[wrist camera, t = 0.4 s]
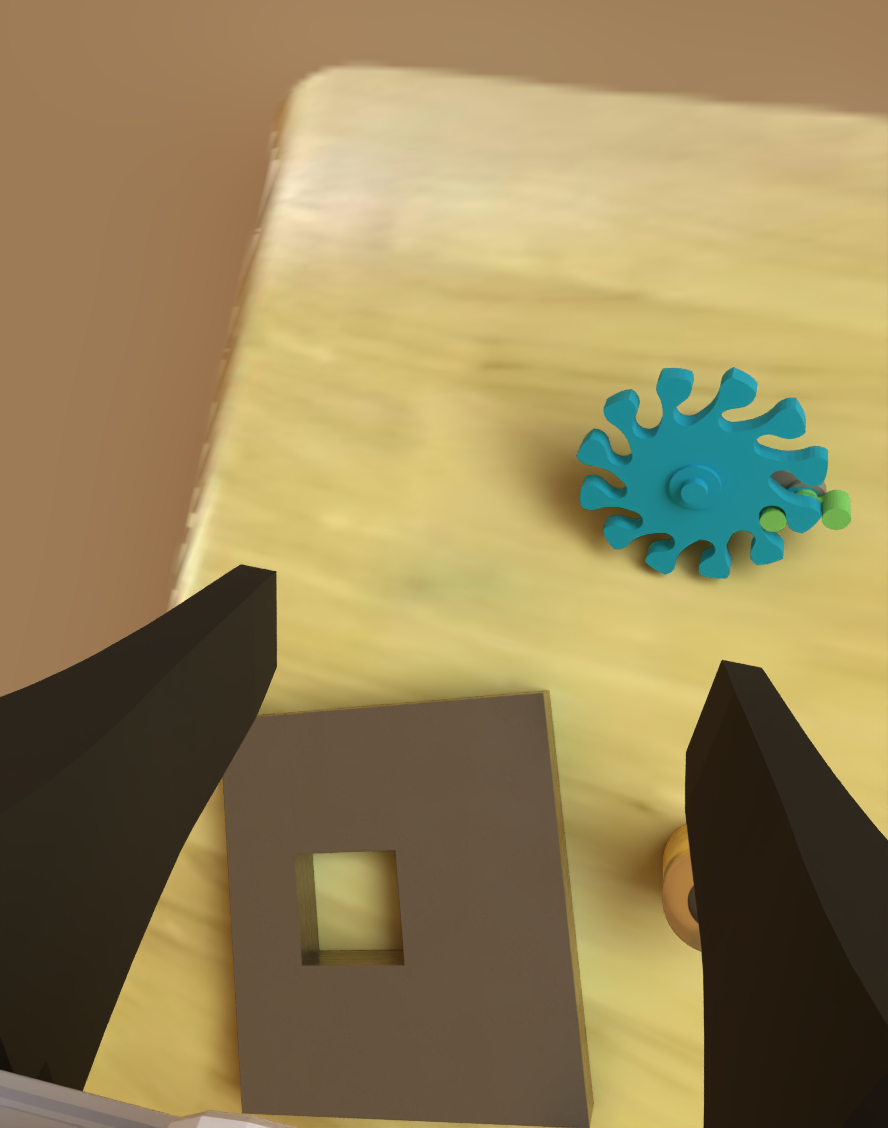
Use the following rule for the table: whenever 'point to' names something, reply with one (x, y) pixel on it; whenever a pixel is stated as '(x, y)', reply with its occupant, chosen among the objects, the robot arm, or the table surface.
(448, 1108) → the plate
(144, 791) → the robot arm
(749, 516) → the gear
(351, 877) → the table surface
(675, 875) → the bushing
